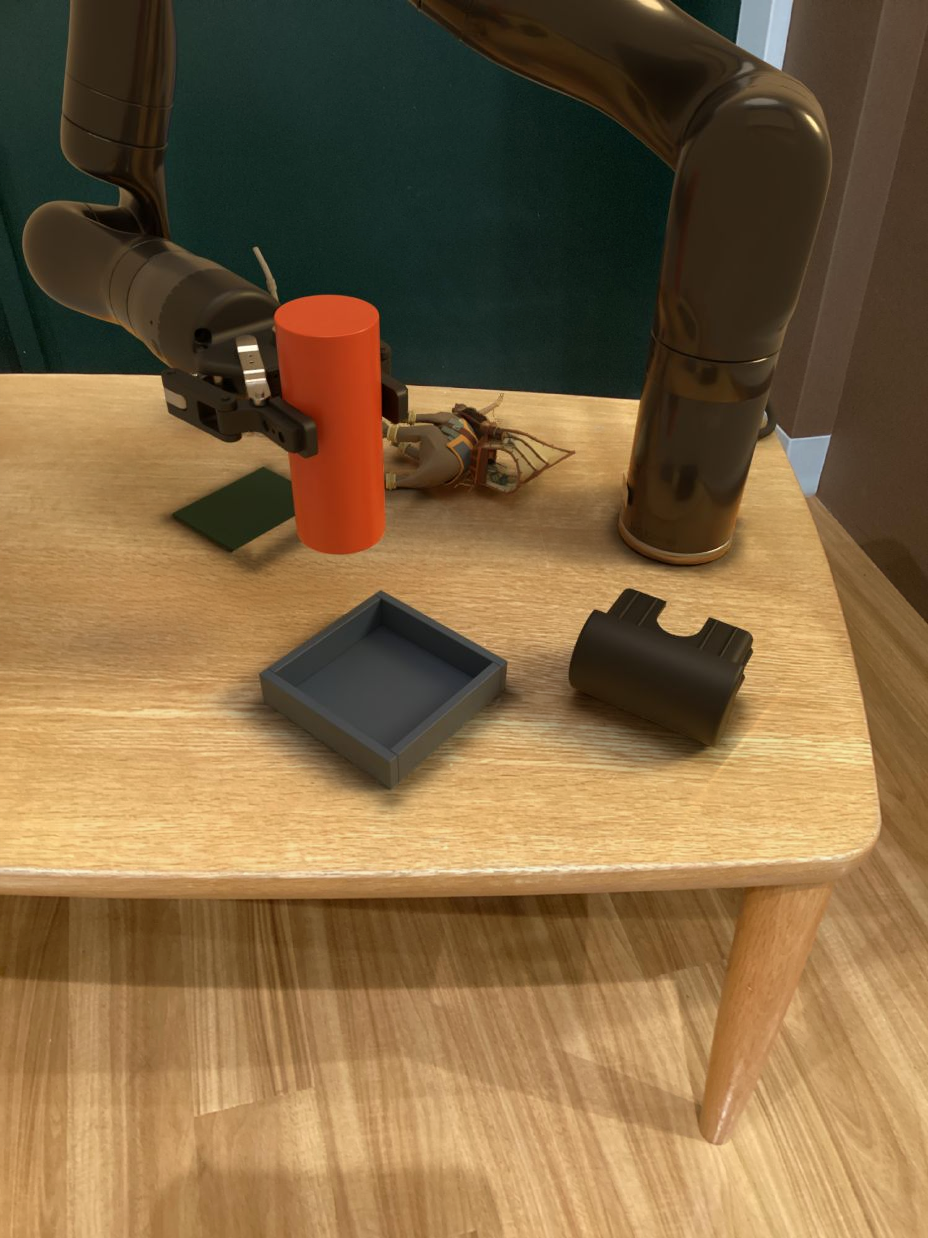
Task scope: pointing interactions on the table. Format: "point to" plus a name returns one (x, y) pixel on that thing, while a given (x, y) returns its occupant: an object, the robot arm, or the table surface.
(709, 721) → the end cap
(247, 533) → the mat
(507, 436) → the figurine
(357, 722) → the dark grey square tray
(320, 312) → the tube
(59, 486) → the table surface
